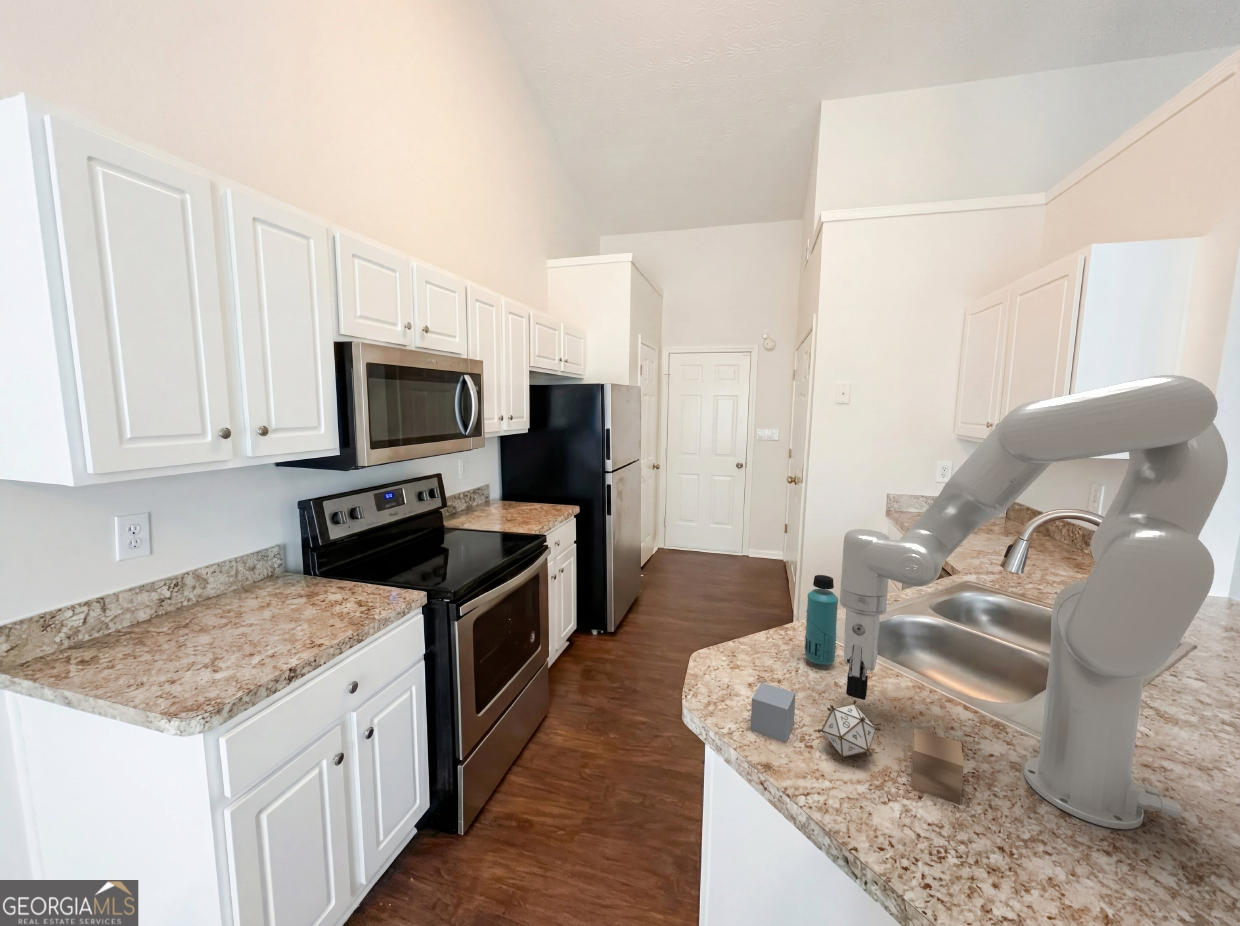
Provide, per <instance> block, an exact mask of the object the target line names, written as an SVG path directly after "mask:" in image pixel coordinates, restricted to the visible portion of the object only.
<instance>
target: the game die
mask: <svg viewBox="0 0 1240 926" xmlns="http://www.w3.org/2000/svg"><path fill="white" fill-rule="evenodd" d="M857 701H858V700H857V698H855V699H853V700H852V704H848V705H847V704H846V705H843V706H837V707H835V706H834V705H833V704H829V707H828V706H827V707H826V708H827V711H828V712H829V713H828V715H827V717H826V719H825V722H824V724H823V726H822V728H818V729H816V732H817V733H822V734H823V735H824V736H825V737H826V739H827V740H828V741H829V742H830V743H831V744H832V746H833V747H834V749H835V750H836V751H837V752H838V754H839V755H840V756H841V757H840V759H839V760H840V762H841V763H842V762H844V760H845V759H844V758H846V757H850V756H854V755H859V754H863V755H865V756H868V755H870V756H873V752H872V751H871V750H870V748H871V745H872V743H873V741H874V737H875V734H876V731H877V732H880V731H881V730H882V728H881V727H880V726H878V727H875V725H873V723H872V722H871V721H870V719H869V718H867V716H866V715H865V714H864V713H863V712H862V711H861V709H860V708H859V707H858V706H857Z"/></svg>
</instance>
